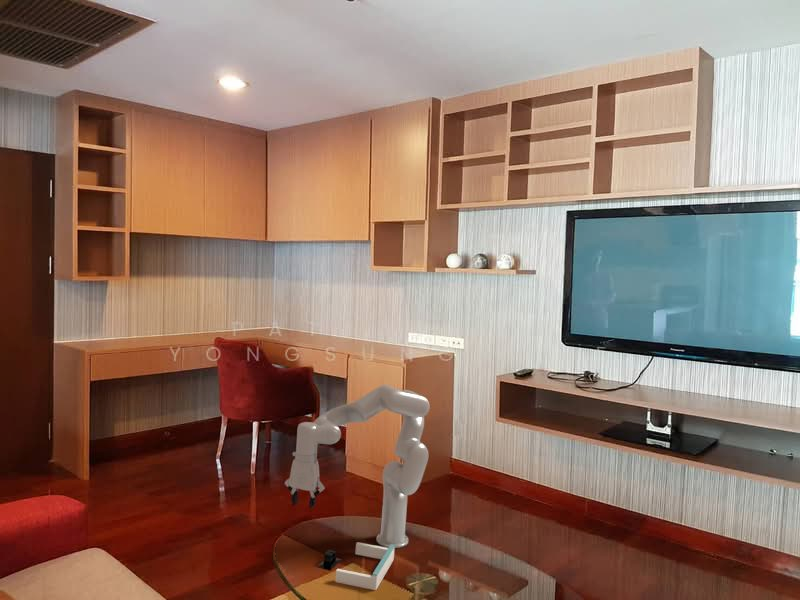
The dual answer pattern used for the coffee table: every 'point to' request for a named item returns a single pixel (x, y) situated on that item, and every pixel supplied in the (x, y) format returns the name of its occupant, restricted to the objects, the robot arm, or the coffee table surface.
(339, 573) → the frame
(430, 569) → the coffee table surface
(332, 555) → the black irregular block
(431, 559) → the coffee table surface
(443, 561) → the coffee table surface
